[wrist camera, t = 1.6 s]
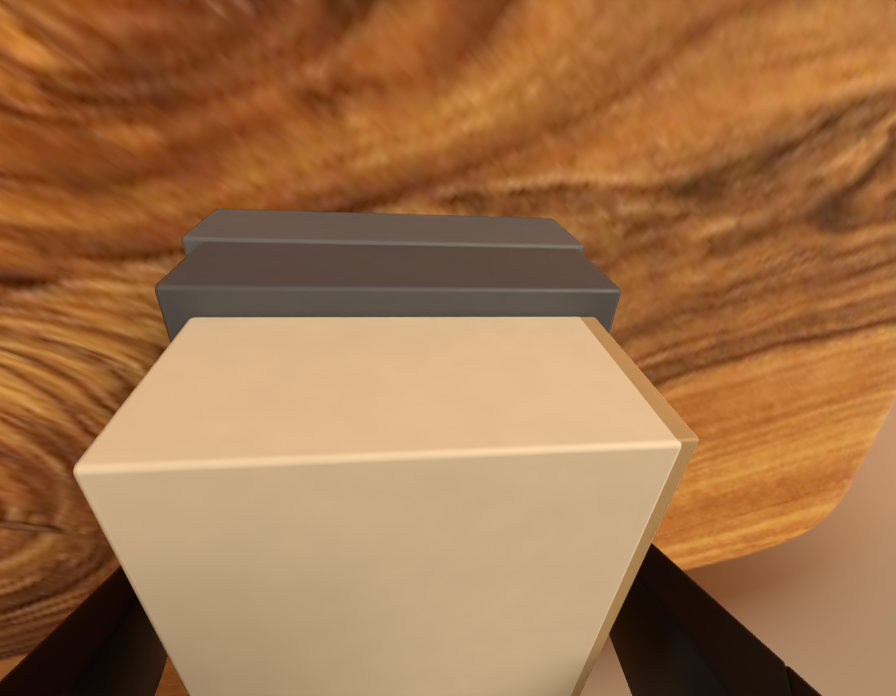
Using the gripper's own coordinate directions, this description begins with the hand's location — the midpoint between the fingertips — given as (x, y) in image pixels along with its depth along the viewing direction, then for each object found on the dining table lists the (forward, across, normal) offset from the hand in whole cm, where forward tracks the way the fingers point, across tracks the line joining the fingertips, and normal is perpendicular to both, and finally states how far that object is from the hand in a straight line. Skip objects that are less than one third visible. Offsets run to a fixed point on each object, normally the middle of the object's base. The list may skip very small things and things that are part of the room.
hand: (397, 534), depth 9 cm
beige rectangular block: (+1, 0, 0) cm, 1 cm away
